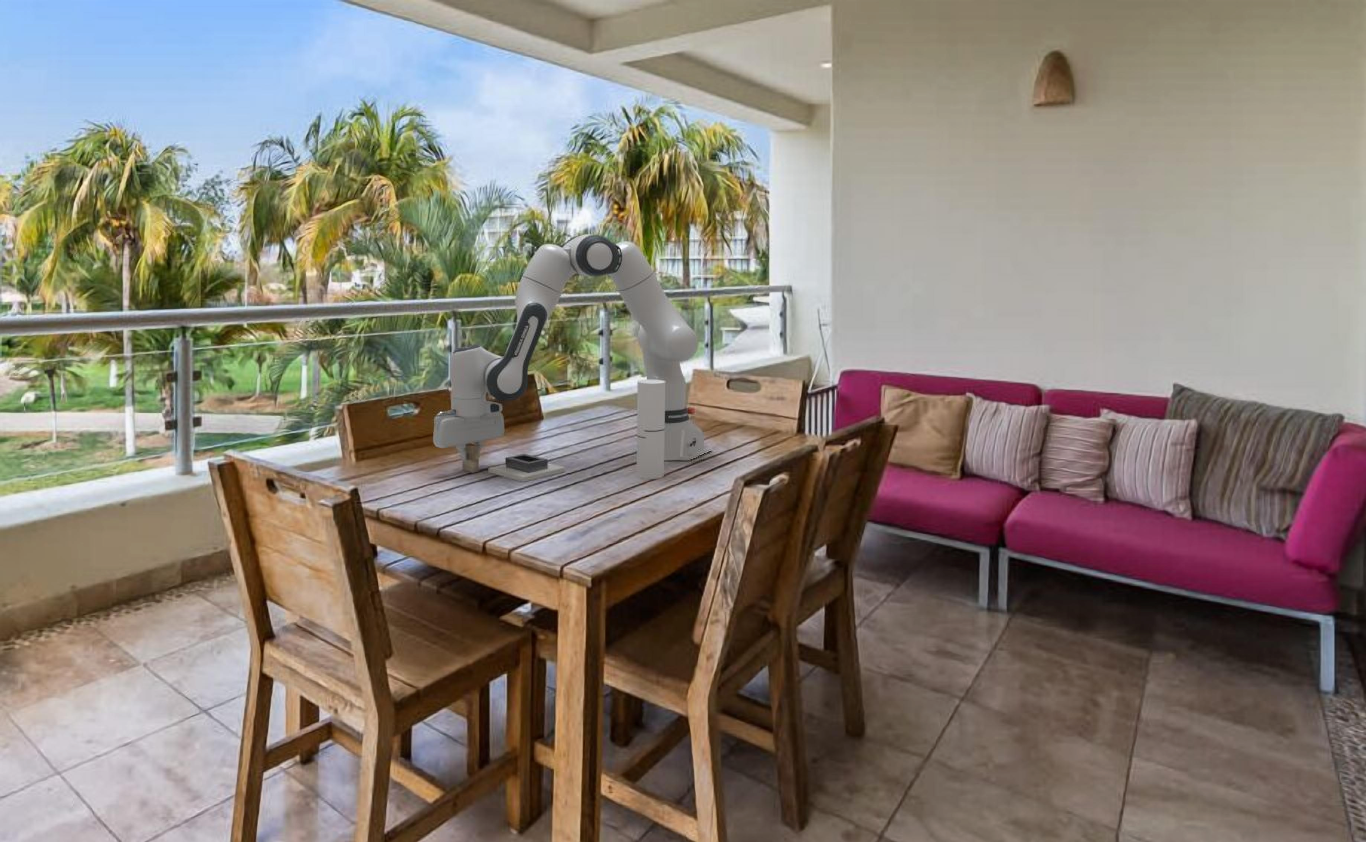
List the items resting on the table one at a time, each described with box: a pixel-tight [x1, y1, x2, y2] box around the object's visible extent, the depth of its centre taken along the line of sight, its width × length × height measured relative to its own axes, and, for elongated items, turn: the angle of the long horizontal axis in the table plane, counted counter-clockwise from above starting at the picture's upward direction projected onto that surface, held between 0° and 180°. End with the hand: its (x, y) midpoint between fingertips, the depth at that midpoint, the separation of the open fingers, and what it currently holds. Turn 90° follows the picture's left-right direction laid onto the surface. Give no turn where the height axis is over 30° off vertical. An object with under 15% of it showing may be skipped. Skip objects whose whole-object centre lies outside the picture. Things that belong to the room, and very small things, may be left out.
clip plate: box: [488, 463, 565, 483], centre depth 215 cm, size 14×14×1 cm
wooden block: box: [461, 443, 480, 473], centre depth 215 cm, size 2×4×7 cm, turn 50°
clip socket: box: [504, 453, 549, 473], centre depth 215 cm, size 6×9×2 cm
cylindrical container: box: [636, 379, 665, 480], centre depth 212 cm, size 7×7×25 cm
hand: (470, 459), depth 215 cm, fingers closed on wooden block, 2 cm apart
